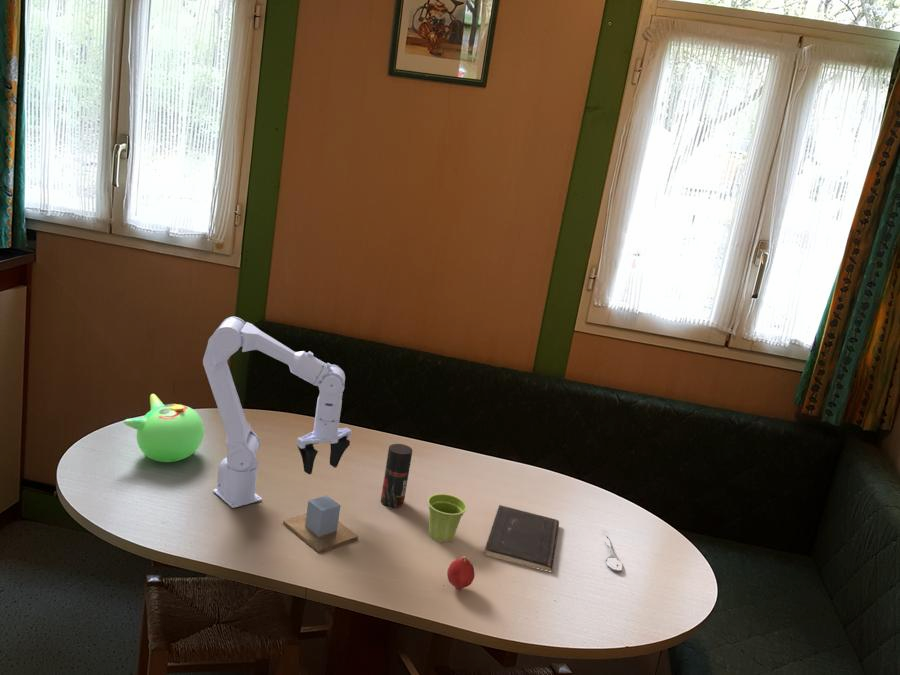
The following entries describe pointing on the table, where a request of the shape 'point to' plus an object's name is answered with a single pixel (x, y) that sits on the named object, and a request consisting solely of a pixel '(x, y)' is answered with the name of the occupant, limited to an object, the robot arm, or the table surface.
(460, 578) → the onion
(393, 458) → the deodorant
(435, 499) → the plant pot
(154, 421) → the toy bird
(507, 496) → the table surface
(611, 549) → the spoon
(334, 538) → the wooden board
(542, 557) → the hardcover book
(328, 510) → the pale blue cuboid
